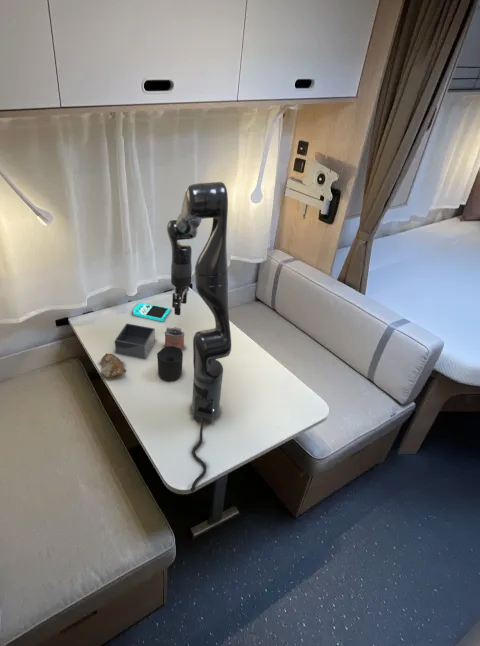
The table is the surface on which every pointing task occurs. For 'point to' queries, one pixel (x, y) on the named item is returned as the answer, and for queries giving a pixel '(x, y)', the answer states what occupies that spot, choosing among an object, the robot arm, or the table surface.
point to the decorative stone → (111, 365)
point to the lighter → (174, 337)
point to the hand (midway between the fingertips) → (180, 308)
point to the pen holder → (170, 363)
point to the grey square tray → (135, 340)
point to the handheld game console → (151, 311)
